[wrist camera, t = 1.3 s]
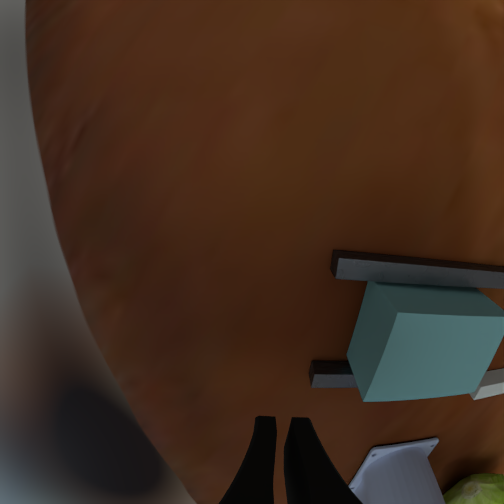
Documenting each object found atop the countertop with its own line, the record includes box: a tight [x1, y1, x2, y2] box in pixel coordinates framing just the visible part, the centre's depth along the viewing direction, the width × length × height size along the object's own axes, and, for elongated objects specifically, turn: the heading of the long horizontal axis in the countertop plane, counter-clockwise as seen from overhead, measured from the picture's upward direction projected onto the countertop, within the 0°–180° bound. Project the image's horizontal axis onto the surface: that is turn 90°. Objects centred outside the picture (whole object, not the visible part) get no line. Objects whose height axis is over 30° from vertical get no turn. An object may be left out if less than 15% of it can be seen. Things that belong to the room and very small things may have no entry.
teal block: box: [346, 281, 504, 402], centre depth 17 cm, size 6×9×5 cm, turn 84°
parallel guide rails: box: [309, 250, 504, 388], centre depth 19 cm, size 9×15×2 cm, turn 85°
